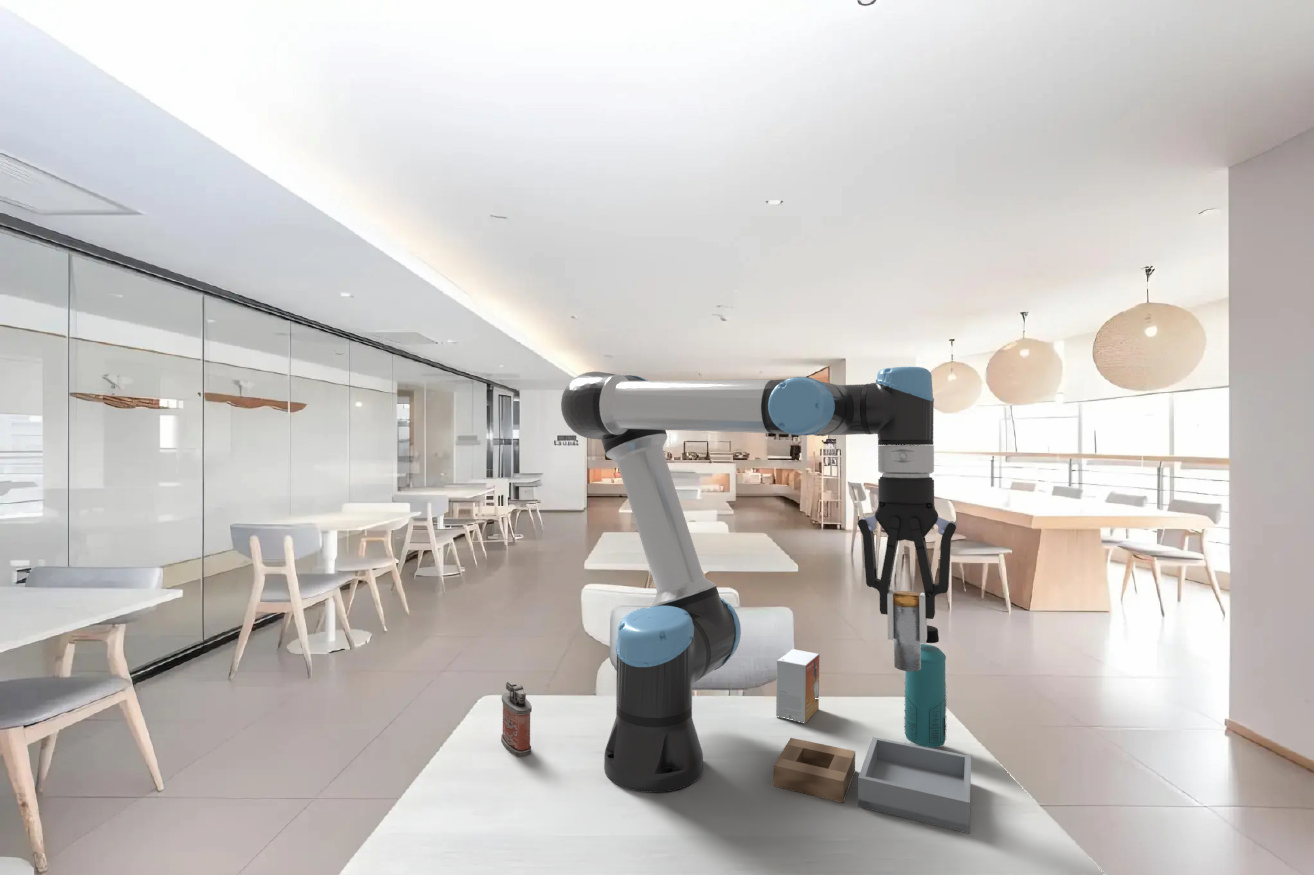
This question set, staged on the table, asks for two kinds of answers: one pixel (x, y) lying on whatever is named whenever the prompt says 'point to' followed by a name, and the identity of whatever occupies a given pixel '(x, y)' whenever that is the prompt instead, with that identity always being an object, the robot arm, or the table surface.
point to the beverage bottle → (927, 696)
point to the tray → (916, 783)
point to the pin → (907, 631)
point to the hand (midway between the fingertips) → (907, 638)
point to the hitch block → (815, 769)
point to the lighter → (516, 720)
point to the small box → (797, 685)
